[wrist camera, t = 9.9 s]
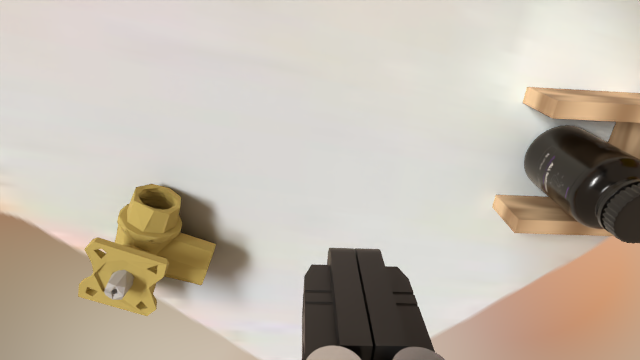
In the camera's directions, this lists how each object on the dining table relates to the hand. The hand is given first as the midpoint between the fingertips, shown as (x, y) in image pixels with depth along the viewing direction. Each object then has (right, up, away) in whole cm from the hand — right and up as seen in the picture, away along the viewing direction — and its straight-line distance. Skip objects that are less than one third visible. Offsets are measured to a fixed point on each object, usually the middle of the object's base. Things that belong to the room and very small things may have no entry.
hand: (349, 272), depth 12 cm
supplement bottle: (+23, +5, +29) cm, 37 cm away
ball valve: (-17, -3, +31) cm, 36 cm away
